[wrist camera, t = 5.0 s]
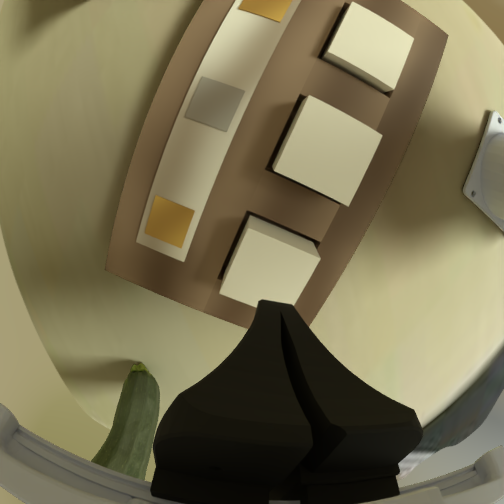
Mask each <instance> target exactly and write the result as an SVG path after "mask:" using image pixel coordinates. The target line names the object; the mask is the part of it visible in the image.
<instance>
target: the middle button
mask: <svg viewBox="0 0 504 504" xmlns="http://www.w3.org/2000/svg"><path fill="white" fill-rule="evenodd" d="M382 136H383V135H381V134H380V133H378V132H376V131H375V130H373V129H372V128H370V127H368V126H367V125H365V124H363V123H361V122H360V121H358V120H356V119H354V118H353V117H351V116H349V115H347V114H345V113H344V112H342V111H340V110H338V109H336V108H334V107H332V106H330V105H328V104H327V103H325V102H323V101H321V100H319V99H317V98H314V97H312V96H310V95H309V96H308V97H307V98H305V99H304V100H303V101H302V102H301V105H300V107H299V109H298V111H297V113H296V115H295V117H294V120H293V122H292V124H291V126H290V128H289V130H288V132H287V135H286V137H285V139H284V141H283V143H282V145H281V148H280V150H279V152H278V154H277V156H276V158H275V161H274V163H273V165H272V168H273V170H274V171H275V172H278V173H280V174H282V175H284V176H286V177H289V178H291V179H293V180H295V181H297V182H299V183H302V184H304V185H306V186H308V187H310V188H312V189H314V190H316V191H318V192H320V193H322V194H325V195H327V196H329V197H331V198H333V199H335V200H337V201H339V202H340V203H342V204H344V205H346V206H348V207H349V205H350V203H351V201H352V199H353V197H354V195H355V193H356V191H357V189H358V187H359V185H360V183H361V181H362V178H363V176H364V174H365V172H366V170H367V168H368V166H369V164H370V162H371V160H372V158H373V155H374V153H375V151H376V149H377V147H378V145H379V142H380V140H381V138H382Z"/></svg>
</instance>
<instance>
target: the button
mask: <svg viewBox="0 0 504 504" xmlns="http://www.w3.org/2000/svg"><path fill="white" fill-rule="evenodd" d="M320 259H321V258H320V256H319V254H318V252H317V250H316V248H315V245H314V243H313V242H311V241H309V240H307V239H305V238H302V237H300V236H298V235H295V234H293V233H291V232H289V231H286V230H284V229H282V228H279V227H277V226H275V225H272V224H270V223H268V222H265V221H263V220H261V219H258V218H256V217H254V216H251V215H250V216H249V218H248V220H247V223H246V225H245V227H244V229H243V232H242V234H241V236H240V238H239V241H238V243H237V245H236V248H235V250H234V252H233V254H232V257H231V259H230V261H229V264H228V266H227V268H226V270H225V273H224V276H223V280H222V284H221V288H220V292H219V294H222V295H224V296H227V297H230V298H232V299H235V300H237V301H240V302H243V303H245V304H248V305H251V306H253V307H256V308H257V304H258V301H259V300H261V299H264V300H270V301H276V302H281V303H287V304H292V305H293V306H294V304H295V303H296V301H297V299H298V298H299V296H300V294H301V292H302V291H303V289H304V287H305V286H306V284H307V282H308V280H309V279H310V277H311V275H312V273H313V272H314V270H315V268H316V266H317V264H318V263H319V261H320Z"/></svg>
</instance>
